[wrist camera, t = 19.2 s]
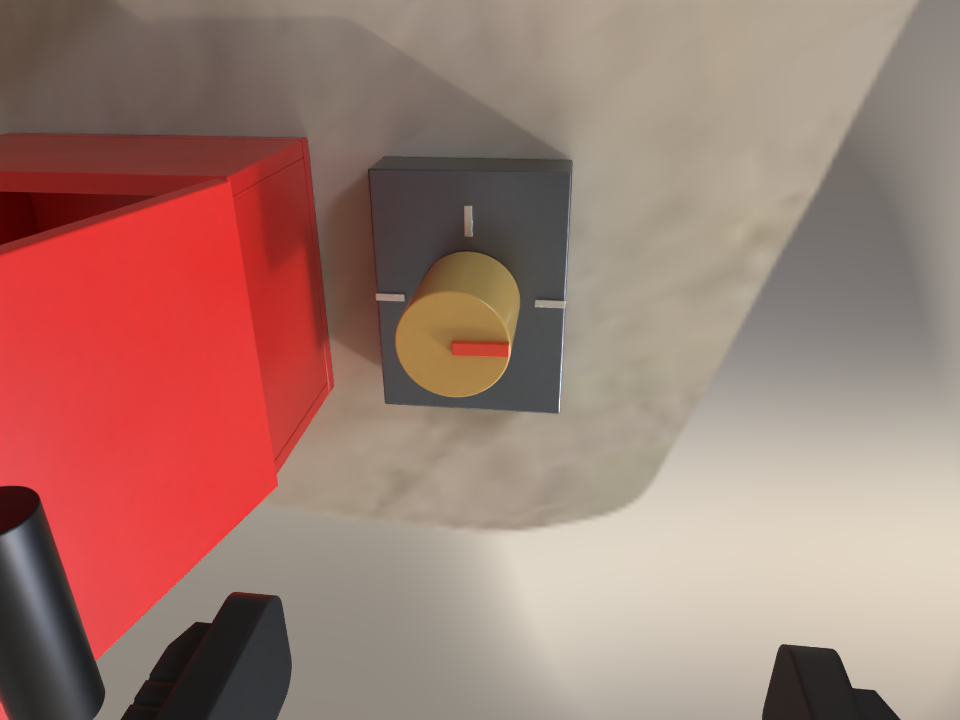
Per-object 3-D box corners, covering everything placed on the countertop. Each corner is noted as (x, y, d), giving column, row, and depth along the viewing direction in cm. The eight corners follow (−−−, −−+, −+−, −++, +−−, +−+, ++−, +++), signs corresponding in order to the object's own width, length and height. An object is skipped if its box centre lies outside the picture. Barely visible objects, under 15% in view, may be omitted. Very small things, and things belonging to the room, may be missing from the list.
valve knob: (422, 344, 35) (397, 399, 30) (416, 250, 33) (387, 292, 28) (520, 347, 35) (510, 403, 30) (520, 251, 33) (509, 295, 28)
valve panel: (383, 156, 34) (366, 169, 32) (572, 159, 33) (572, 174, 31) (397, 377, 40) (383, 406, 37) (561, 386, 39) (559, 416, 36)
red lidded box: (77, 372, 42) (-38, 455, 34) (9, 132, 36) (-148, 167, 28) (334, 386, 41) (275, 478, 33) (307, 137, 35) (227, 176, 27)
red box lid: (-116, 834, 19) (46, 919, 17) (-401, 367, 13) (-198, 424, 11) (264, 482, 32) (374, 508, 31) (213, 178, 26) (347, 189, 25)
